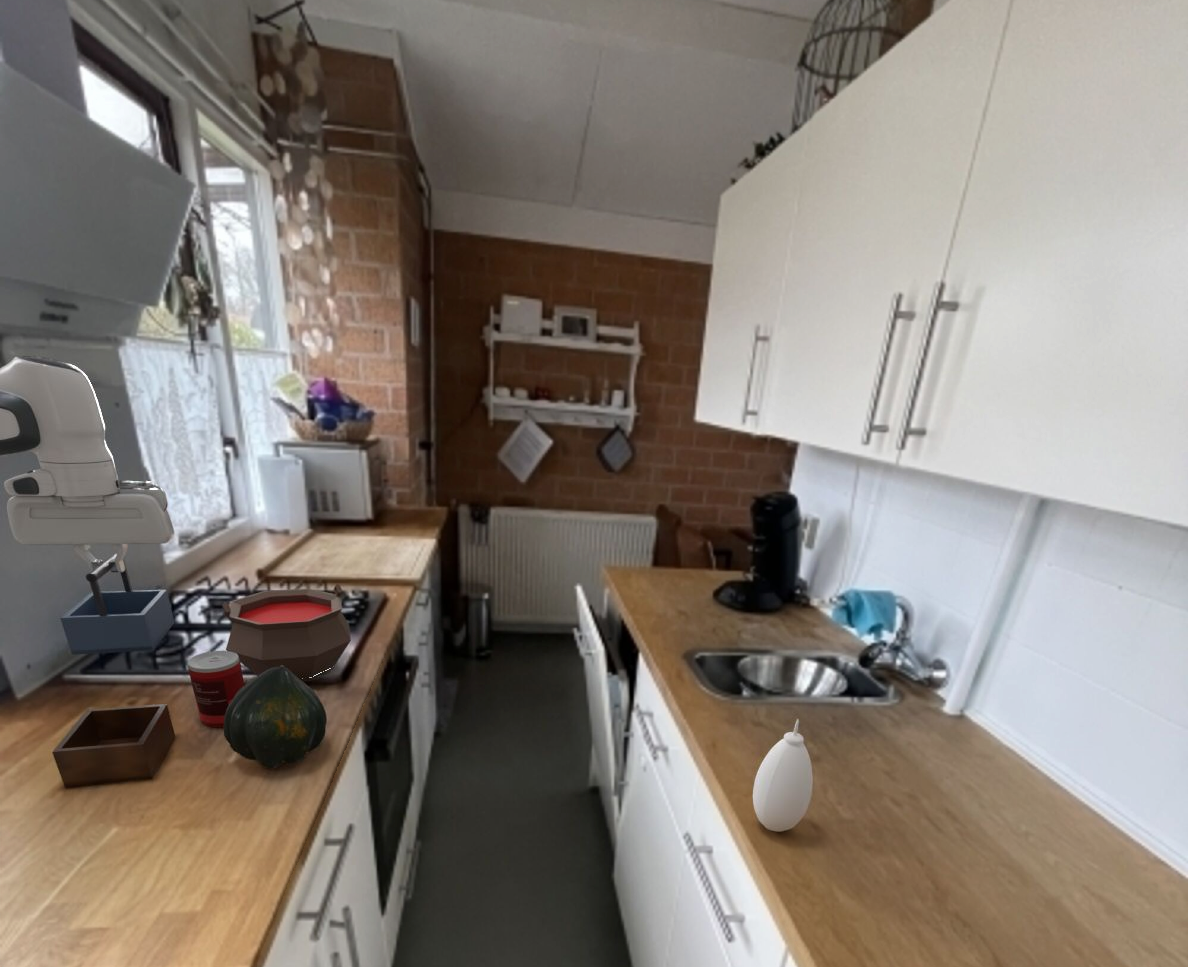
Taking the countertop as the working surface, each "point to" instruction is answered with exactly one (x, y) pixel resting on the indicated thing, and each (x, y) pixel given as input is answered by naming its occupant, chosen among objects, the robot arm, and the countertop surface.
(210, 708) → the canned food
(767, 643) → the countertop surface
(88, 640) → the top basket
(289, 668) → the brown soup pot
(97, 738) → the bottom basket
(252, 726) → the squash
